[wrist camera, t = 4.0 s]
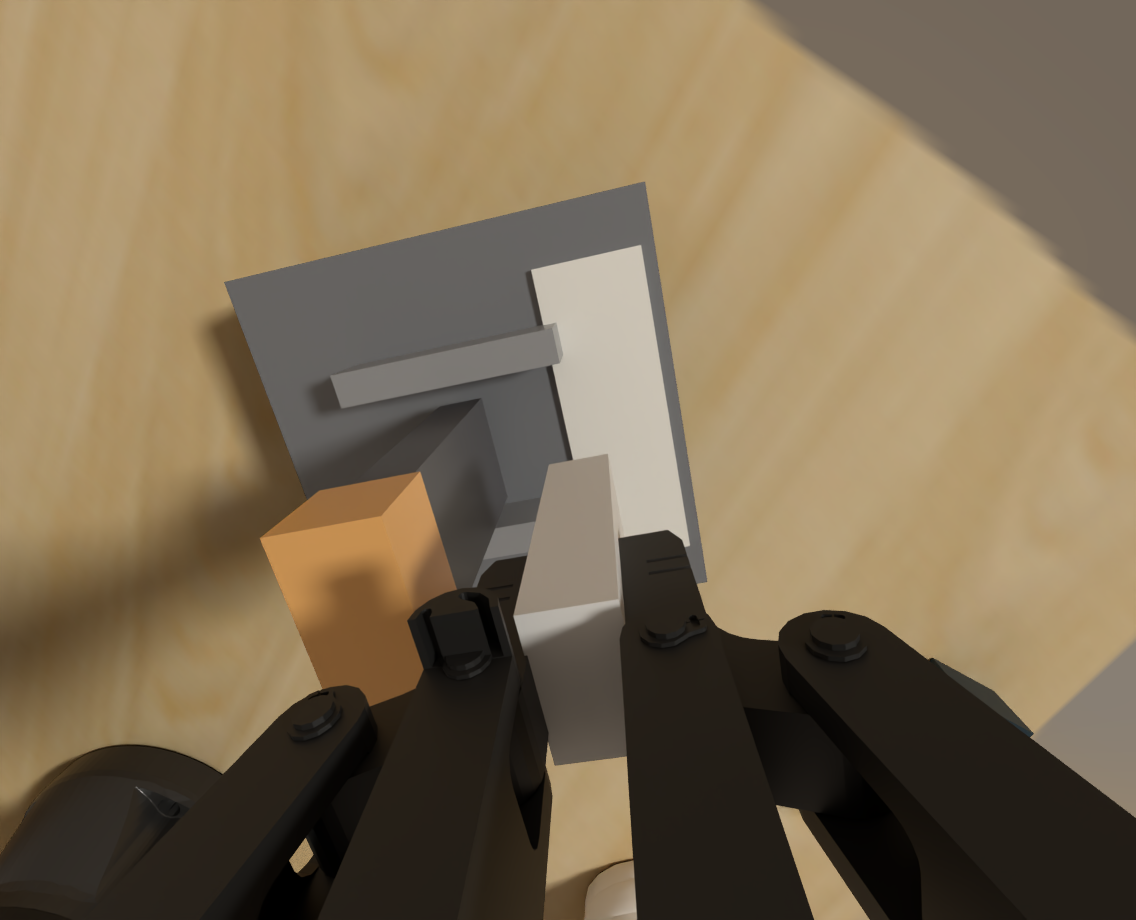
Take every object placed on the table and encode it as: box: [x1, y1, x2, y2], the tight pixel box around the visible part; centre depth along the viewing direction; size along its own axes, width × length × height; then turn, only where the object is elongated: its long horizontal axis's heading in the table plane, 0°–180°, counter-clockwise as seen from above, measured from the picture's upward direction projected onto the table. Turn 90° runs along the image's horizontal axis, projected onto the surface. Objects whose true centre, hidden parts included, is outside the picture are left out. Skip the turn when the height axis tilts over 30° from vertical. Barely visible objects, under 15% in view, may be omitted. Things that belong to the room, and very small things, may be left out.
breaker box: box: [224, 182, 707, 588], centre depth 25 cm, size 16×16×8 cm
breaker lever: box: [260, 398, 508, 706], centre depth 16 cm, size 2×4×11 cm, turn 12°
